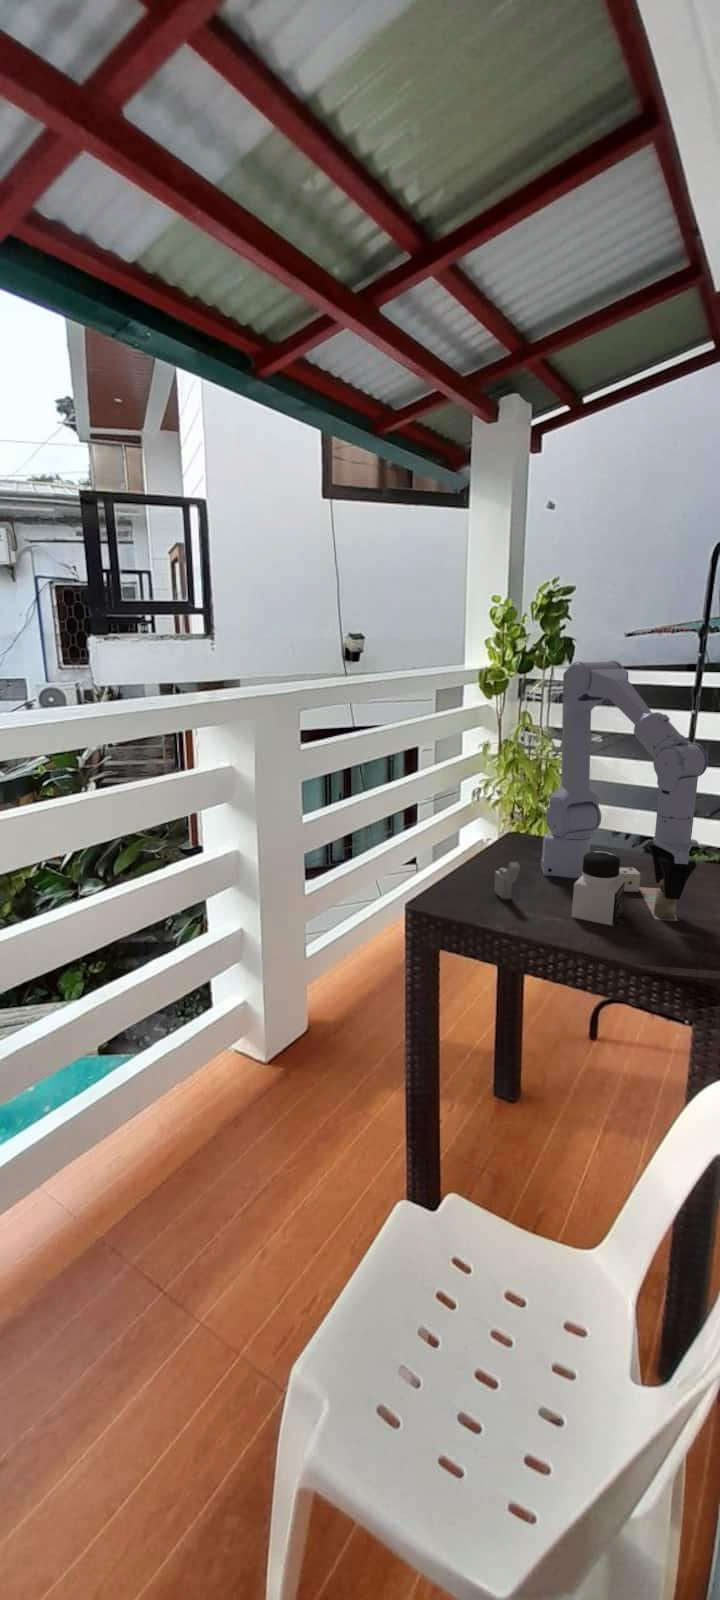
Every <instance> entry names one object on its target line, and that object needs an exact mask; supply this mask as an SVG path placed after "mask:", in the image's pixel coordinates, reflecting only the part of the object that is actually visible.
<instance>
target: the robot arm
mask: <svg viewBox="0 0 720 1600" xmlns="http://www.w3.org/2000/svg"><path fill="white" fill-rule="evenodd" d="M605 699H609V700H610V701H611V702H612V704H614V705H615V706H616V708H618V710H620V711H621V713H623V714H624V715H625V716H626V717H627V718H628V719H629V720H630V722H632V724H633V725H634V727H633V735H634V737H636V739H637V740H638V741H639V742H640V744H641V745H642V746H643V747H644V748H645V750H646V751H647V752H648V754H649V755H650V756H651V757H652V758H653V759H654V760H653V763H652V764H653V768H654V772H655V774H656V777H657V782H656V785H657V786H658V799H657V810H656V820H655V821H656V822H655V829H654V836H653V837H652V842H651V841H650V842H648V843H647V846H648V848H649V850H650V853H651V857H652V861H653V863H652V864H653V870H654V877H655V878H654V879H655V883H656V884H659V883H660V881H661V880H662V879H663V878H664V892H665V897H666V899H675V900H677V901H678V900H680V899H681V896H682V894H683V891H684V888H685V887H686V883H687V881H688V879H689V877H690V876H691V875H692V873H693V872H694V870H695V869H696V868H697V863H696V861H695V860H690V851H691V848H692V847H699V841H698V840H697V839H692V836H693V835H692V834H693V833H692V832H693V826H694V825H693V824H694V818H695V817H694V816H695V808H696V799H697V792H698V791H697V790H698V789H697V787H698V779H699V777H701V776H702V775H704V774H705V772H706V770H707V769H708V768H707V767H708V764H709V758H708V755H707V752H706V751H705V749H704V748H703V746H702V744H700V743H698V742H692V741H691V742H690V741H689V739H687V738H686V737H685V736H684V735H683V734H681V733H680V732H679V731H678V730H677V729H676V727H675V726H674V725H673V724H672V723H671V722H670V719H671V718H670V717H669V716H668V715H667V714H666V713H664V714H663V713H661V712H652V710H651V709H650V708H649V706H648V705H647V704H646V702H645V701H644V700H643V698H642V697H641V696H640V695H639V692H638V691H636V689H635V687H634V686H633V684H632V683H631V682H630V681H629V671H628V670H626V669H625V668H624V667H623V665H622V664H621V663H620V662H619V661H617V660H610V661H587V662H585V661H584V662H583V661H575V662H572V663H571V664H570V665H569V666H568V668H567V669H566V670H565V671H564V673H563V677H562V718H561V719H562V723H561V724H562V729H561V730H562V731H561V733H562V734H561V783H560V784H561V787H560V788H559V789H558V790H557V791H556V792H554V793H553V795H552V796H550V798H549V806H548V809H547V812H546V817H545V818H546V825H547V828H548V830H549V831H550V832H549V833H547V832H545V833H544V834H543V840H542V856H541V859H540V868H541V869H542V876H551V877H552V876H553V877H563V878H568V879H569V878H571V879H579V878H580V877H581V876H582V870H583V857H584V855H585V854H587V853H590V851H591V850H590V849H591V838H592V836H594V835H595V831H597V830H598V828H599V827H600V826H601V823H602V811H601V808H600V806H599V796H598V794H596V793H595V792H594V791H592V790H591V788H590V776H591V775H590V770H591V767H590V766H591V726H592V725H591V724H592V723H591V721H592V719H591V718H592V710H593V709H594V708H595V707H596V706H597V705H598V704H599V703H600V702H601V701H604V700H605ZM549 869H550V870H549Z"/></svg>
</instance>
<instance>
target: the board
mask: <svg viewBox="0 0 720 1600" xmlns="http://www.w3.org/2000/svg"><path fill="white" fill-rule="evenodd" d="M656 891H657V887H644V886H643V887H642V886H639V892H640V893H641V896H642V897H643V899H644V901H645V903H646V905H647V907H648V909H649V911H650V913H651V914H652V917H653V918H654V920H656V921H657V920H659V921H660V920H661V921H671V922H679V919H678V917H677V916H676V915H675V918H674V919H662V918H658V917H656V916H655V915H654V908H655V899H656Z"/></svg>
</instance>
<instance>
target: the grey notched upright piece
mask: <svg viewBox="0 0 720 1600" xmlns="http://www.w3.org/2000/svg"><path fill="white" fill-rule="evenodd" d="M520 871H521V866H520V864H519V862H518V861H511V862H509V863H508V865H507V868H505V867H501V868H499V869H498V870H495V871H494V890H493V892H494V894H496V895H497V896H498V897H499V898H501V899H502V900H511V899H512V891H513V889H512V888H513V886H512V885H513V883H516V882H517V879H518V876H519V873H520Z"/></svg>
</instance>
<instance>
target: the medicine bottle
mask: <svg viewBox="0 0 720 1600" xmlns="http://www.w3.org/2000/svg"><path fill="white" fill-rule="evenodd" d="M620 866H621V859H620V858H619V856H617V855H616V854H613V853H611V852H608V851H600V850H599V851H598V850H596V851H591V852H590V853H587V854H585V855H584V857H583V870H582V876H581V877H580V878H577V880H576V881H575V882H574V884H573V892H572V894H573V895H572V896H573V897H572V904H571V905H572V907H571V918H573V919H578V920H583V921H590V922H594V923H597V924H599V923H600V924H604V925H609V926H615V924H616V922H617V921H618V920H619V918H620V916H621V915H622V913H623V905H624V895H625V894H624V893H625V891H624V885H625V880H624V879H621V878H619V868H621V867H620Z"/></svg>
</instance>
